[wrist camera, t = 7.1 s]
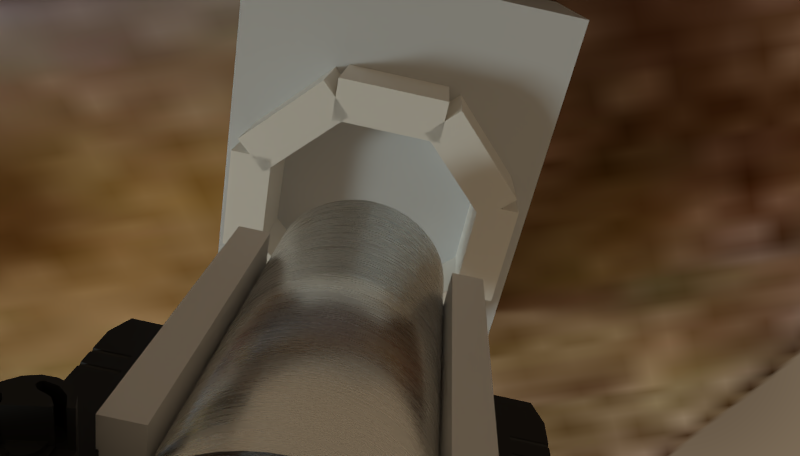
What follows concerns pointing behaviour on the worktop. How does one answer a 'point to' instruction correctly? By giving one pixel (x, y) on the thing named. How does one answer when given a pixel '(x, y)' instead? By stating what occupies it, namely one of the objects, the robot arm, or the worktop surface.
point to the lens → (328, 347)
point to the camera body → (399, 117)
